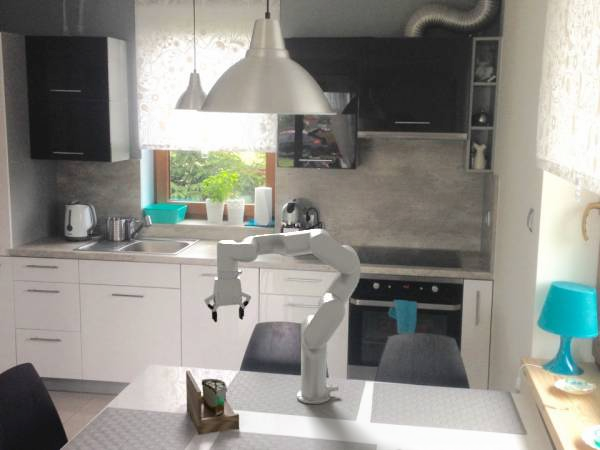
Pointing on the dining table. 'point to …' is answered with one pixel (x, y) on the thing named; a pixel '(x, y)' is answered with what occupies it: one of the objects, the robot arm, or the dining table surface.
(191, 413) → the low wooden shelf
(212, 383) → the food container
